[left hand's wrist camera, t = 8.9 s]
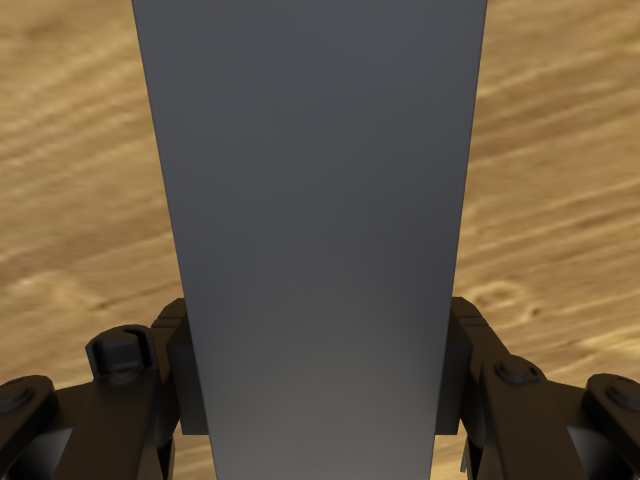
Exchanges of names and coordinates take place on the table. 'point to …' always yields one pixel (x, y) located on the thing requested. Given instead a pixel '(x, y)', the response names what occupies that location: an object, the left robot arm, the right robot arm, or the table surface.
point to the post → (315, 219)
